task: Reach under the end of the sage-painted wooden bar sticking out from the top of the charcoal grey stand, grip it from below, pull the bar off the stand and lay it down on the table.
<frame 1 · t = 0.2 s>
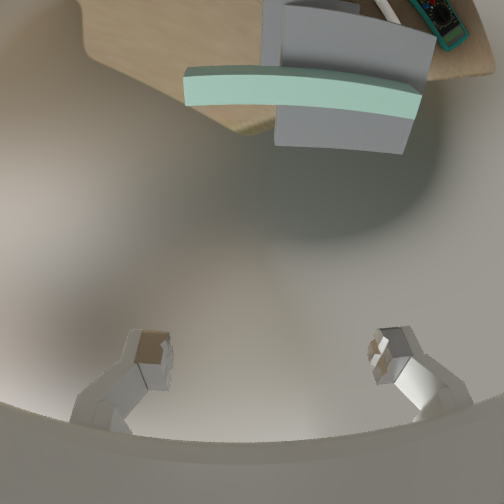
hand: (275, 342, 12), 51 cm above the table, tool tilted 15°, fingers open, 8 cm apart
bar: (305, 81, 27), point 26 cm above the table, touching stand
stand: (307, 36, 44), on the table
digital multimeter: (435, 13, 37), on the table
white rod: (380, 4, 38), on the table
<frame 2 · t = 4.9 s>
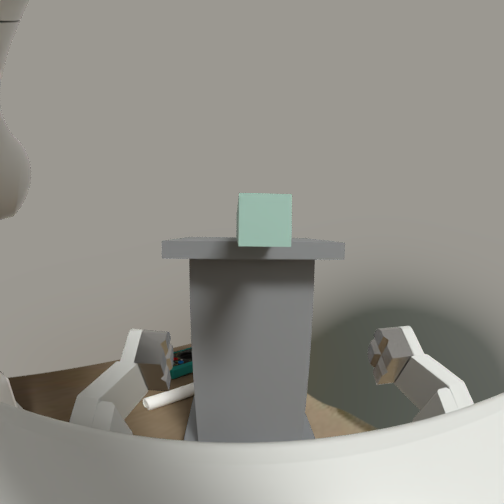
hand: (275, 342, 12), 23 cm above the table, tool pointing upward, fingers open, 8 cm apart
bar: (253, 240, 29), point 26 cm above the table, touching stand
stand: (248, 437, 37), on the table
digital multimeter: (190, 366, 61), on the table
white rod: (192, 395, 49), on the table
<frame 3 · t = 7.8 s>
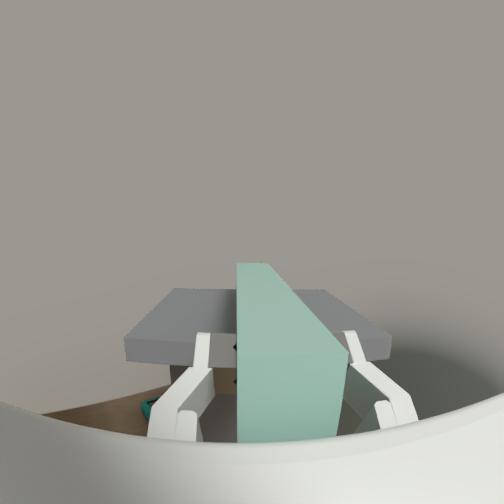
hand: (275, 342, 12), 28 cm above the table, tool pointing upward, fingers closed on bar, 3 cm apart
bar: (260, 329, 20), point 26 cm above the table, touching gripper, stand
digital multimeter: (184, 411, 51), on the table
when the fingers open (13 cm above the table, at t = 16.2 s): bar drops 8 cm, on the table.
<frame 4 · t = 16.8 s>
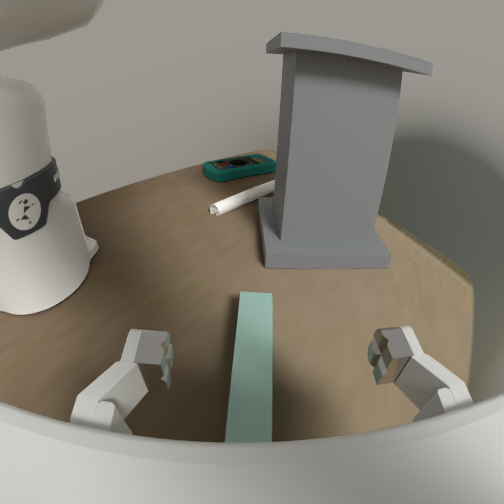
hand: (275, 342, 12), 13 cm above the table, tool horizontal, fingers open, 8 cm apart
bar: (249, 417, 22), on the table
stand: (316, 234, 44), on the table
digital multimeter: (240, 174, 66), on the table
white rod: (253, 200, 54), on the table
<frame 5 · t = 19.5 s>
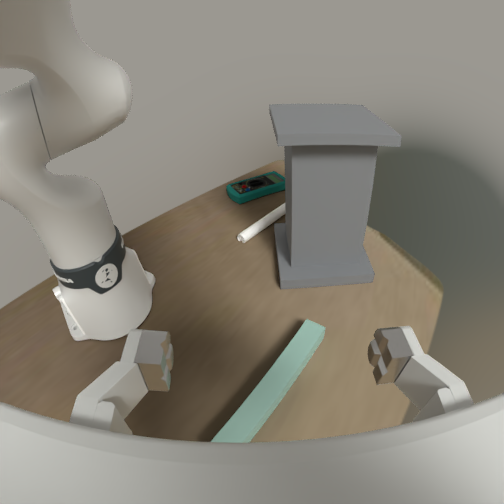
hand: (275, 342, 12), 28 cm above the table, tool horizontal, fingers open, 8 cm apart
bar: (271, 395, 38), on the table
stand: (320, 254, 58), on the table
digital multimeter: (258, 192, 78), on the table
white rod: (270, 223, 67), on the table
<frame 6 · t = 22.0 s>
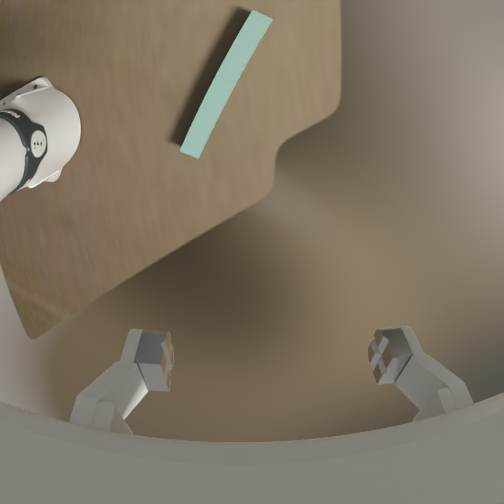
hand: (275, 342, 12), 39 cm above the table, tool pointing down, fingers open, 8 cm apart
bar: (224, 82, 40), on the table
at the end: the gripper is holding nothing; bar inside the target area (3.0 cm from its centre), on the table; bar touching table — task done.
